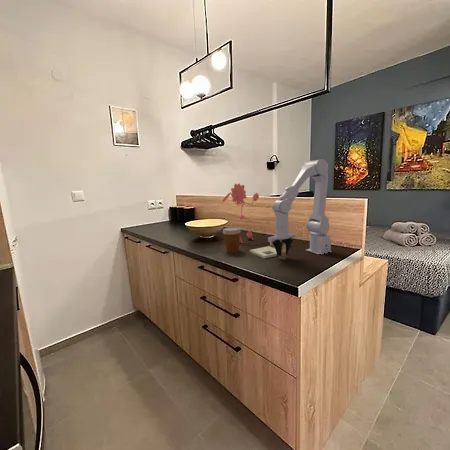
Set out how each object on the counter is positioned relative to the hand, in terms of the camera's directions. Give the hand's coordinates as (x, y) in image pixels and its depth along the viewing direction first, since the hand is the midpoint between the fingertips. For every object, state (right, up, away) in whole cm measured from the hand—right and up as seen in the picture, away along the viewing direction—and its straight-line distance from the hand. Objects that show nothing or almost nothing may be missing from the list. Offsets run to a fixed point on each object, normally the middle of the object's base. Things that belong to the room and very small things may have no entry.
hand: (282, 254), depth 117 cm
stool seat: (-6, 0, +10) cm, 11 cm away
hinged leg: (+3, +2, +19) cm, 20 cm away
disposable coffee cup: (-22, 0, +17) cm, 28 cm away
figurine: (-17, +4, +39) cm, 43 cm away
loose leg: (0, -2, 0) cm, 2 cm away
